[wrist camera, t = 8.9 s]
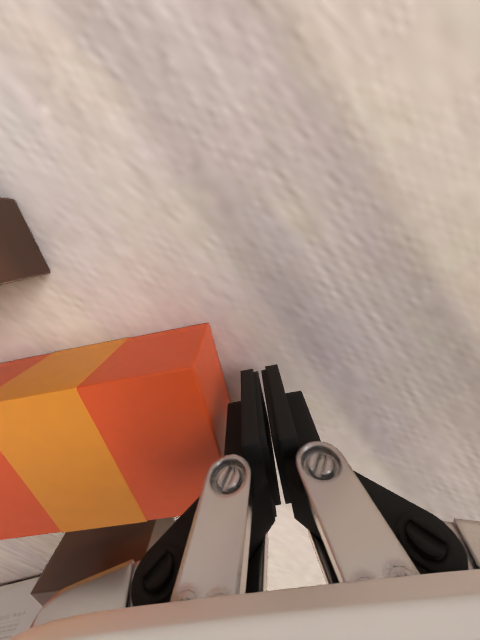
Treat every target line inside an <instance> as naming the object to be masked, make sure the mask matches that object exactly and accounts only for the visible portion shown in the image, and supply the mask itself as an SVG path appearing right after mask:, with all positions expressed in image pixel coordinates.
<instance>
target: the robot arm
mask: <svg viewBox="0 0 480 640" xmlns="http://www.w3.org/2000/svg"><path fill="white" fill-rule="evenodd" d="M265 367H266V370H261V372H262V379H263V385H264V392H265V398H266V405H267V411H268V416H267V412H266V407H265V402H264V397H263V393H262V388H261V383H260V379H259V374H258V371H256V372H253V369H249V370H243V371H241V401H238V402H233V403H228V407H227V421H226V435H225V449H224V456H223V457H221V458H219V459H217V460H216V461H215V462H214V463H213V464H212V465H211V466H210V468H209V469H208V472H207V474H206V477H205V480H204V484H203V487H202V491H201V494H200V496H199V497H198V498H197V499H196V500H195V501H194V503H193V504H192V505H191V506H190V507H189V508H188V509H187V510H186V511H185V512H184V513H183V514H182V515H181V516H180V517H179V518H178V519H177V520H176V522H175V523H174V524H173V525H172V526H171V527H170V528H169V529H168V530H167V531H166V532H165V533H164V534H163V535H162V536H161V537H160V538H159V540H158V541H157V542H156V543H155V544H154V545H153V546H152V547H151V548H150V549H149V550H148V551H147V553H146V554H145V555H144V556H143V558H142V559H141V560H139V561H137V562H134V560H133V559H131V560H129V561H127V562H124V563H122V564H120V565H117V566H115V567H112V568H110V569H108V570H105V571H103V572H101V573H98V574H96V575H93V576H91V577H89V578H86V579H84V580H82V581H79V582H77V583H74V584H72V585H70V586H67V587H65V588H64V589H62V590H60V591H59V592H57V593H56V594H54V595H53V596H52V597H51V598H50V599H49V600H48V601H47V602H46V603H45V604H44V606H43V607H42V609H41V610H40V611H39V613H38V614H37V615H36V617H35V619H34V621H33V623H32V625H31V626H30V628H29V629H28V630H26V631H24V632H21V633H19V634H17V635H15V636H13V637H11V638H10V639H8V640H480V521H471V520H463V519H455V518H454V521H453V522H445V521H442V520H440V519H439V518H437V517H436V516H434V515H433V514H431V513H429V512H428V511H426V510H424V509H422V508H420V507H418V506H417V505H415V504H413V503H411V502H409V501H408V500H406V499H404V498H402V497H400V496H398V495H397V494H395V493H393V492H391V491H389V490H388V489H386V488H384V487H382V486H380V485H378V484H377V483H375V482H373V481H371V480H369V479H368V478H366V477H364V476H362V475H360V474H358V473H357V472H355V471H353V470H352V468H351V467H350V465H349V464H348V462H347V461H346V459H345V457H344V456H343V454H342V453H341V452H340V451H339V450H338V449H337V448H336V447H334V446H333V445H331V444H328V443H326V442H321V440H320V438H319V435H318V433H317V430H316V428H315V425H314V422H313V420H312V417H311V415H310V412H309V409H308V407H307V404H306V402H305V399H304V396H303V394H302V392H301V391H297V392H291V393H285V391H284V387H283V384H282V380H281V376H280V373H279V369H278V366H277V364H276V365H271V366H265ZM268 418H269V421H268ZM269 424H270V427H269ZM270 431H271V434H270ZM271 437H272V441H271ZM272 443H273V447H272ZM273 448H274V452H275V457H276V462H277V466H278V471H279V476H280V480H281V485H282V490H283V494H284V499H285V503H286V504H288V503H292V508H293V513H294V518H295V519H296V520H298V521H299V522H300V523H301V524H302V525H304V526H305V527H306V528H307V529H308V533H309V536H310V539H311V542H312V545H313V548H314V550H315V553H316V556H317V559H318V562H319V564H320V567H321V570H322V573H323V575H324V578H325V581H326V584H327V585H318V586H309V587H300V588H291V589H282V590H273V591H267V570H268V531H269V529H270V528H271V526H272V525H273V523H274V522H275V517H277V515H276V507H275V505H281V501H280V494H279V487H278V481H277V474H276V467H275V461H274V454H273Z"/></svg>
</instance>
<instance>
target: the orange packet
mask: <svg viewBox="0 0 480 640" xmlns="http://www.w3.org/2000/svg"><path fill="white" fill-rule="evenodd" d="M228 403H231V402H230V399H229V395H228V391H227V388H226V384H225V380H224V377H223V373H222V369H221V366H220V362H219V358H218V355H217V351H216V347H215V344H214V340H213V336H212V333H211V329H210V325H209V323H204V324H199V325H193V326H188V327H183V328H178V329H173V330H168V331H163V332H158V333H152V334H147V335H142V336H137V337H132V338H129V337H128V338H123V339H118V340H113V341H108V342H103V343H98V344H92V345H87V346H82V347H77V348H72V349H67V350H62V351H57V352H54V353H50V354H45V355H40V356H35V357H30V358H24V359H19V360H14V361H9V362H4V363H0V540H3V539H10V538H18V537H25V536H33V535H41V534H48V533H56V532H62V533H64V532H72V531H79V530H87V529H94V528H102V527H110V526H117V525H125V524H132V523H140V522H147V521H148V520H154V519H161V518H169V517H176V516H181V515H182V514H183V513H184V512H185V511H186V510H187V509H188V508H189V507H190V506H191V505H192V504H193V503H194V501H195V500H196V499H197V498H198V497H199V496H200V494H201V491H202V487H203V484H204V480H205V477H206V474H207V472H208V469H209V468H210V466H211V465H212V464H213V463H214V462H215V461H216V460H217V459H219V458H221V457H223V456H224V449H225V435H226V421H227V407H228Z"/></svg>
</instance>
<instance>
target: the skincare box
mask: <svg viewBox="0 0 480 640" xmlns="http://www.w3.org/2000/svg"><path fill="white" fill-rule="evenodd" d="M39 578H40V577H36V578H32V579H28V580H24V581H21V582H16V583H12V584H8V585H4V586H0V640H8V639H10V638H11V637H13V636H15V635H17V634H19V633H21V632H24V631H26V630H28V629H29V628H30V626H31V625H32V623H33V621H34V619H35V617H36V615H37V614H38V613H39V611H40V610H41V609H42V607H43V606H42V605H41V604H40V603H39V602H38V601H37V600H36V599H35V598H34V597H33V596H32V595H31V594H30V593H31V591H32V590H33V588H34V586H35V584H36V583H37V581H38V579H39Z"/></svg>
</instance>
